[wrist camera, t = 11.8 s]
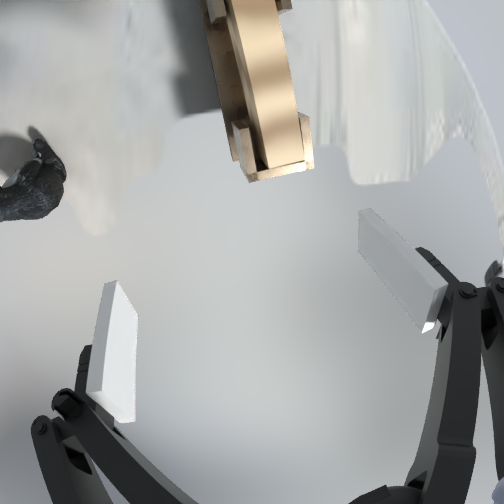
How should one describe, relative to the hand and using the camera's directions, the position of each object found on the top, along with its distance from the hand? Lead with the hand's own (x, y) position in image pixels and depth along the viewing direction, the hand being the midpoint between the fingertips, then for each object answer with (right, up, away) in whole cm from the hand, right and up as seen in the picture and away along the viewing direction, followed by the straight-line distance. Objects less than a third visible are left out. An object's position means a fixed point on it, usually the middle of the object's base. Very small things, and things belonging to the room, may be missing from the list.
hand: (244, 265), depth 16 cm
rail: (+1, +20, +14) cm, 25 cm away
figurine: (-29, +13, +20) cm, 37 cm away
